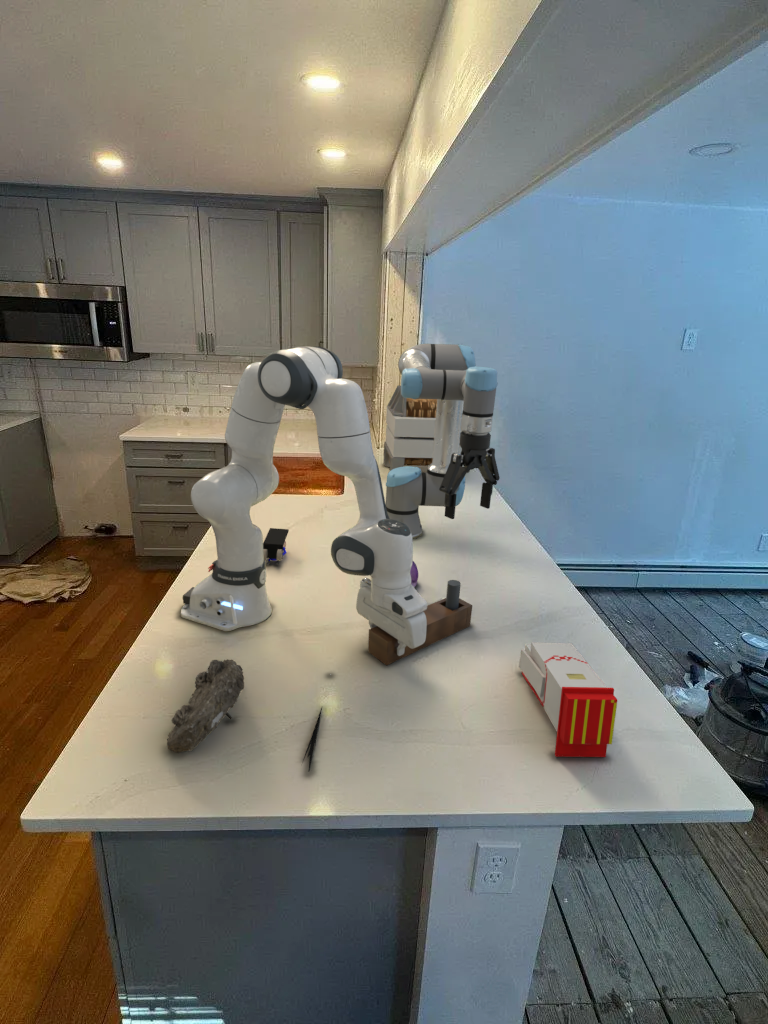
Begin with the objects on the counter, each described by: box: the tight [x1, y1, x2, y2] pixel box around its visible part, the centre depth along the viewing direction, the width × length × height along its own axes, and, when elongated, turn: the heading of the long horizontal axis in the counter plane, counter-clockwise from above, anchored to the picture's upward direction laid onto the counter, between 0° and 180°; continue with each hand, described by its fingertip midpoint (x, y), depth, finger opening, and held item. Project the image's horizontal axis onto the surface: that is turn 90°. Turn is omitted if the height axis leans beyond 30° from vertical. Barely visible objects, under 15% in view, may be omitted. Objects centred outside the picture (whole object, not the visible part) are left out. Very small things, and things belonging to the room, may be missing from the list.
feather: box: [301, 673, 332, 771], centre depth 108 cm, size 2×28×2 cm
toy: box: [518, 642, 618, 758], centre depth 113 cm, size 12×13×30 cm
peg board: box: [367, 597, 473, 666], centre depth 136 cm, size 28×7×6 cm, turn 131°
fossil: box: [166, 658, 245, 754], centre depth 106 cm, size 22×10×15 cm
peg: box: [445, 579, 462, 611], centre depth 141 cm, size 3×3×12 cm
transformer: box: [383, 384, 462, 471], centre depth 268 cm, size 34×33×41 cm
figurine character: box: [263, 527, 290, 566], centre depth 175 cm, size 7×8×15 cm
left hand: (387, 645), depth 130 cm, fingers closed on peg board, 6 cm apart
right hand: (467, 512), depth 148 cm, fingers open, 13 cm apart
